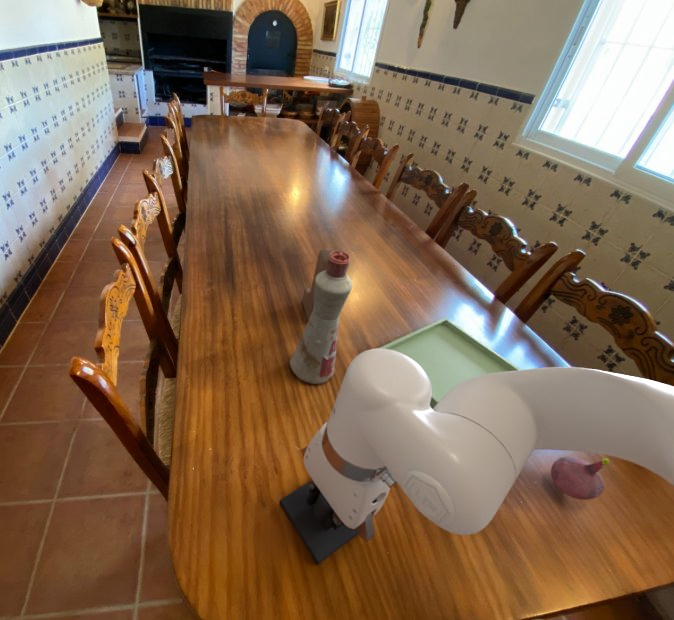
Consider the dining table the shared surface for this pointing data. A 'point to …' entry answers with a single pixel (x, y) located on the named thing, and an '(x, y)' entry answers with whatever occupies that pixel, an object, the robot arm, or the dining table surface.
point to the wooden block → (309, 292)
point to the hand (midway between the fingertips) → (324, 510)
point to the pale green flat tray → (449, 356)
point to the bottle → (323, 322)
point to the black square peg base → (314, 523)
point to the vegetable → (578, 477)
